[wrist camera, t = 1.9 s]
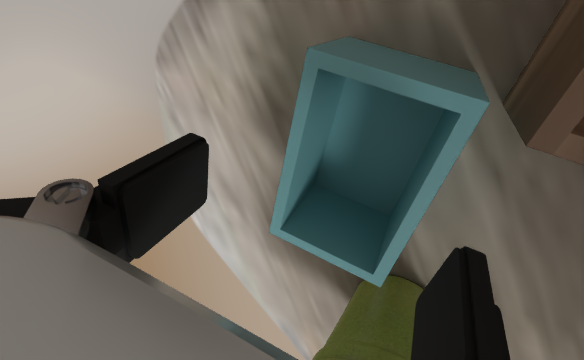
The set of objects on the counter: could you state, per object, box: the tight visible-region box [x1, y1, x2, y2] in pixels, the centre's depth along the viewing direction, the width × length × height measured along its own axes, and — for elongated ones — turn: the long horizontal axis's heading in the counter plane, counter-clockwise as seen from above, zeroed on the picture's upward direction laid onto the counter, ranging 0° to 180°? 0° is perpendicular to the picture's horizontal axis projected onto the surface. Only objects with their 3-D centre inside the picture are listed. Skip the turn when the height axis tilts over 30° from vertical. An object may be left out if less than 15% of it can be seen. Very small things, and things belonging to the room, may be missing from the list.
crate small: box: [269, 37, 490, 287], centre depth 16 cm, size 7×10×6 cm, turn 168°
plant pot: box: [313, 275, 424, 360], centre depth 20 cm, size 9×9×9 cm
